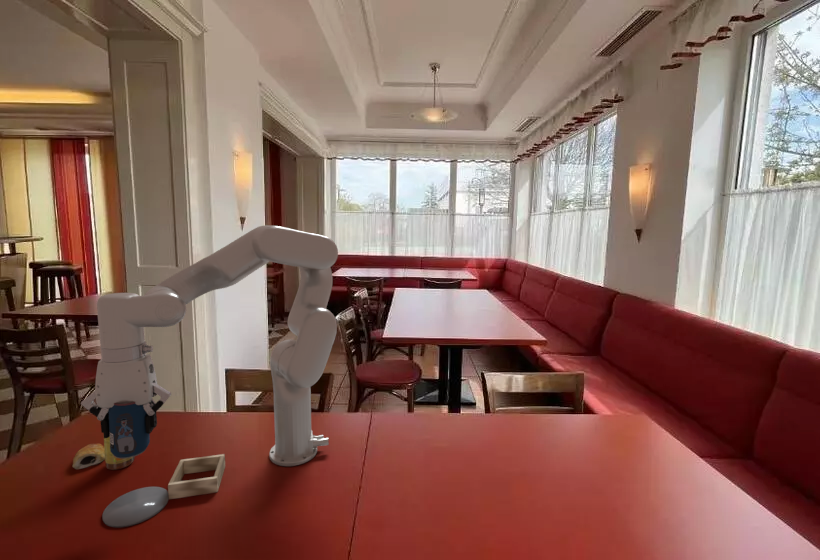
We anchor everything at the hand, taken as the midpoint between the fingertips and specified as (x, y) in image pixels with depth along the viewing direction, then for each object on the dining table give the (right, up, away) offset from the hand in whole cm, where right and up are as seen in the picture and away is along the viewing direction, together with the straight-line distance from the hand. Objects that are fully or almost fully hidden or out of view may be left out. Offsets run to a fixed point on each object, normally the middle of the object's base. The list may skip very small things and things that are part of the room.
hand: (130, 432), depth 84 cm
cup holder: (+9, -16, +11) cm, 22 cm away
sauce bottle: (-15, -15, +18) cm, 28 cm away
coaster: (0, -17, +2) cm, 18 cm away
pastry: (-24, -15, +19) cm, 35 cm away
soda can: (0, -4, +1) cm, 5 cm away
